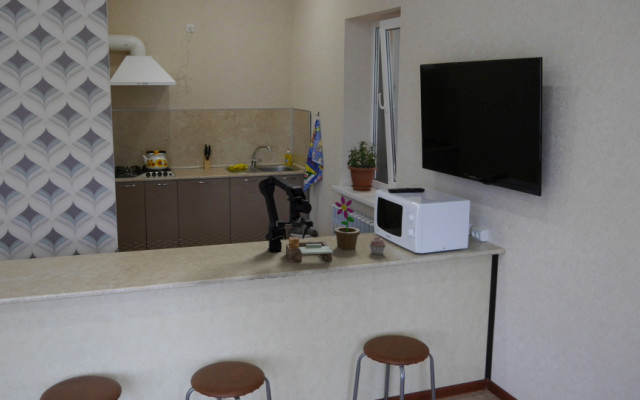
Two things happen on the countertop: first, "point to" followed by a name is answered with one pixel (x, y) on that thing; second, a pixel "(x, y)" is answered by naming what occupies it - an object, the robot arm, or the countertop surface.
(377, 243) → the cupcake
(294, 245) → the block
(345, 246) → the flowerpot
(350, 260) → the countertop surface
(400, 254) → the countertop surface
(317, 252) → the sliding cover
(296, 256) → the puzzle board
